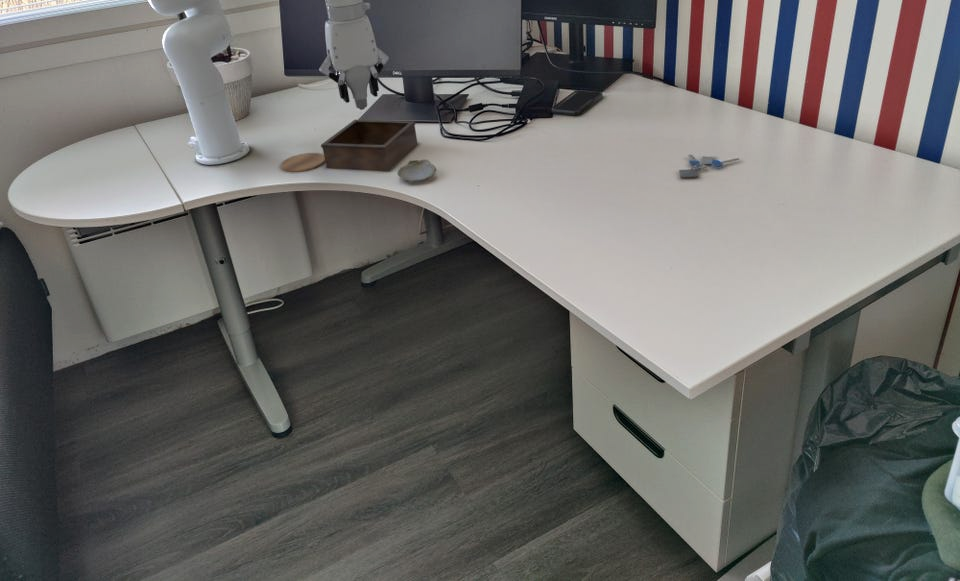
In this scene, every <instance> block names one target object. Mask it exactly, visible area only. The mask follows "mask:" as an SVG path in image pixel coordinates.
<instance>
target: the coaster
mask: <svg viewBox="0 0 960 581" xmlns="http://www.w3.org/2000/svg"><path fill="white" fill-rule="evenodd" d="M324 163H326V162H325V157H324V154H321V153H316V152H308V153H301V154H297V155H293V156H291V157H288V158H286V159H285V160H284V161H282V163H281V165H280V166H281V169H282V170H283V171H285V172H292V173H300V172H307V171H310V170H312V169H313V170H314V169H316V168H319V167H320V166H322V165H323V164H324Z"/></svg>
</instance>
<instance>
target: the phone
mask: <svg viewBox="0 0 960 581" xmlns="http://www.w3.org/2000/svg"><path fill="white" fill-rule="evenodd" d="M602 99H603V92H602V91H595V90H582V89H577V90H574V91H572V92H571V93H570V94H568V95H567V96H565V97H564V98H563V99H562V100H560V101H559V102H557V103H556V104H554V105H553V106H552V107H551V114H553V115H554V114H555V115H564V116H572V117H573V116H574V117H579V116H582V114H584V113H585V112H586V111H588V110H589V109H590V108H592V107H593V106H594V105H595V104H596V103H598V102H599V101H600V100H602Z"/></svg>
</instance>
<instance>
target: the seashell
mask: <svg viewBox="0 0 960 581" xmlns="http://www.w3.org/2000/svg"><path fill="white" fill-rule="evenodd" d="M436 173H437V167H436V166H435V165H434V164H432V162H431V161H430V160H429V159H417V160H416V159H413V160H409V161H408V163H407V164H405V165H403V166H402V167H400V168H399V169H398V170H397V176H398V177H399V178H401V180H404V181H405V182H413V183H414V182H422V181H425V180H429V178H432V177H434V175H436Z"/></svg>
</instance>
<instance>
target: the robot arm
mask: <svg viewBox="0 0 960 581" xmlns="http://www.w3.org/2000/svg"><path fill="white" fill-rule="evenodd" d="M147 1H148V3H149V5H150V6H151V7H152V9H153V10H154V11H155V12H156V13H157V14H159V15H160V16H164V17H172V16H176V15H179V14H182V13H184V14H185V16H186V17H185V18H182V19H181V20H178V21H176V22H174V23H173V24H171V25H170V26H169V27H167V29H166V30H165V31H164V34H163V36H162V48H163V51H164V54H165V56H166V58H167V60H168V62H169V63H170V65H171V67H172V69H173V71H174V73H175V76H176V79H177V81H178V84H179V87H180V90H181V94H182V96H183V98H184V102H185V105H186V108H187V112H188V114H189V118H190V121H191V124H192V127H193V130H194V133H195V136H191V137H190V139H189V141H188V143H187V146H188V147H189V148H196V151H197V153H196V154H195V159H196V162H197V163H199V164H201V165H207V166H208V165H223V164H226V163H230V162H234V161H236V160H239V159H241V158H242V157H243V158H244V156H246V155H247V154H248V153H249V152H250V145H249V144H248V143H247V142H245V141H242V140H241V138H240V134H239V131H238V127H237V123H236V120H235V117H234V112H233V110H232V107H231V103H230V102H231V101H230V98H229V95H228V92H227V88H226V86H225V82H224V79H223V76H222V74H221V72H220V70H219V69H218V67H217V66H216V65H215V63H214V61H213V60H212V58H213V57H215V56H217V55H219V54H221V53H223V52H224V51H225V50H226V49H227V48H228V47H229V46H230V44H231V41H232V32H231V27H230V24H229V20H228V19H227V16H226V14H225V12H224V9H223V7H222V4H221V2H220V0H147ZM324 1H325V8H326V13H327V18H328V20H325V22H324V34H325V36H324V37H325V45H326V55H327V56H326V57H325V59H324V61H323V62H322V63H321V65H320V67H319V69H318V70H319V72H320V73H321V74H324V76H326V77H328V78H329V79H331V80H332V81H334V82H335V83H336V84H337V87H338V93H339V98H340V99H341V100H343V101H344V102H345V103H346V104H348V103H350V95H349V88H348V86H347V84H346V83H345V81H344V79H345V73H346V71H347V70H349V69H352V68H353V67H355V66H358V65H361V66H368V68H369V70H370V73H371V74H370V80H369V83H368V86H369V93H370V94H371V95H372V96H373V97H375V98H376V97H378V95H379V94H378V92H379V91H380V87H379V82H378V78H379V76H380V74H381V72H382V70H383V69H384V67H385V65H386V64H387V62H388V61H389V60H390V56H388V54H386V53H385V52H384V51H382V50H381V48H379V47H378V46H377V43H376V42H377V41H376V39H375V38H376V37H375V34H374V31H373V27H372V24H371V22H370V19H369V17H368V15H366V12H367V11H368V10H369V11H370V10H371V4H370V2H365V1H364V0H324ZM331 67H332V68H333V69H334V71H335V73H334V72H332V71H331V70H330V69H329V68H331Z"/></svg>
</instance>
